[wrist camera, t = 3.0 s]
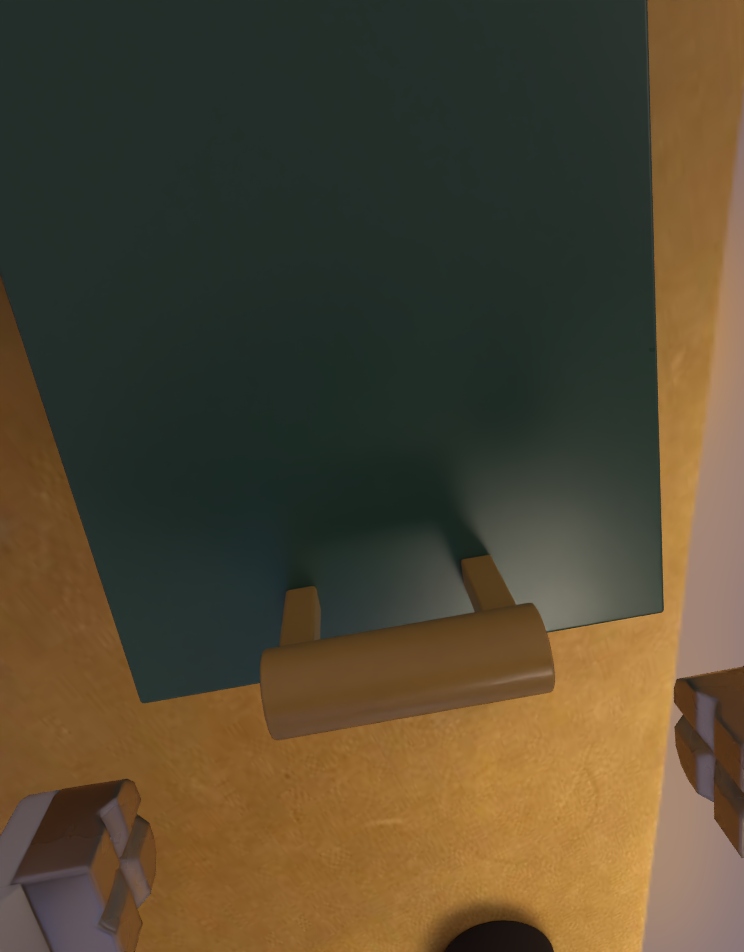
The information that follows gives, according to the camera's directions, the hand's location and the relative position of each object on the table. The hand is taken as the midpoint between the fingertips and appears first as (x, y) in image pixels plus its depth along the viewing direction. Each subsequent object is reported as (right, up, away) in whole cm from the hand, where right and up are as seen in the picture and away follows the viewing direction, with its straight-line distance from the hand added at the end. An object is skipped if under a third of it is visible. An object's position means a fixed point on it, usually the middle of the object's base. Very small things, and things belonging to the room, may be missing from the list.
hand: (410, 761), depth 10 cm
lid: (-1, +8, +4) cm, 9 cm away
